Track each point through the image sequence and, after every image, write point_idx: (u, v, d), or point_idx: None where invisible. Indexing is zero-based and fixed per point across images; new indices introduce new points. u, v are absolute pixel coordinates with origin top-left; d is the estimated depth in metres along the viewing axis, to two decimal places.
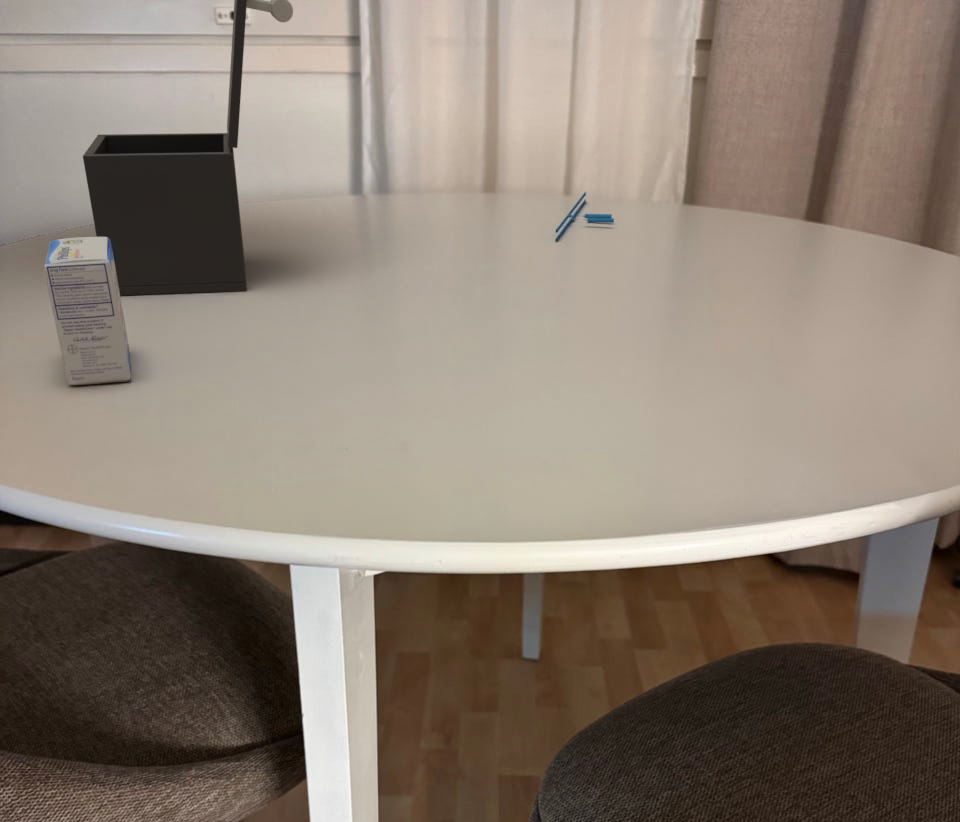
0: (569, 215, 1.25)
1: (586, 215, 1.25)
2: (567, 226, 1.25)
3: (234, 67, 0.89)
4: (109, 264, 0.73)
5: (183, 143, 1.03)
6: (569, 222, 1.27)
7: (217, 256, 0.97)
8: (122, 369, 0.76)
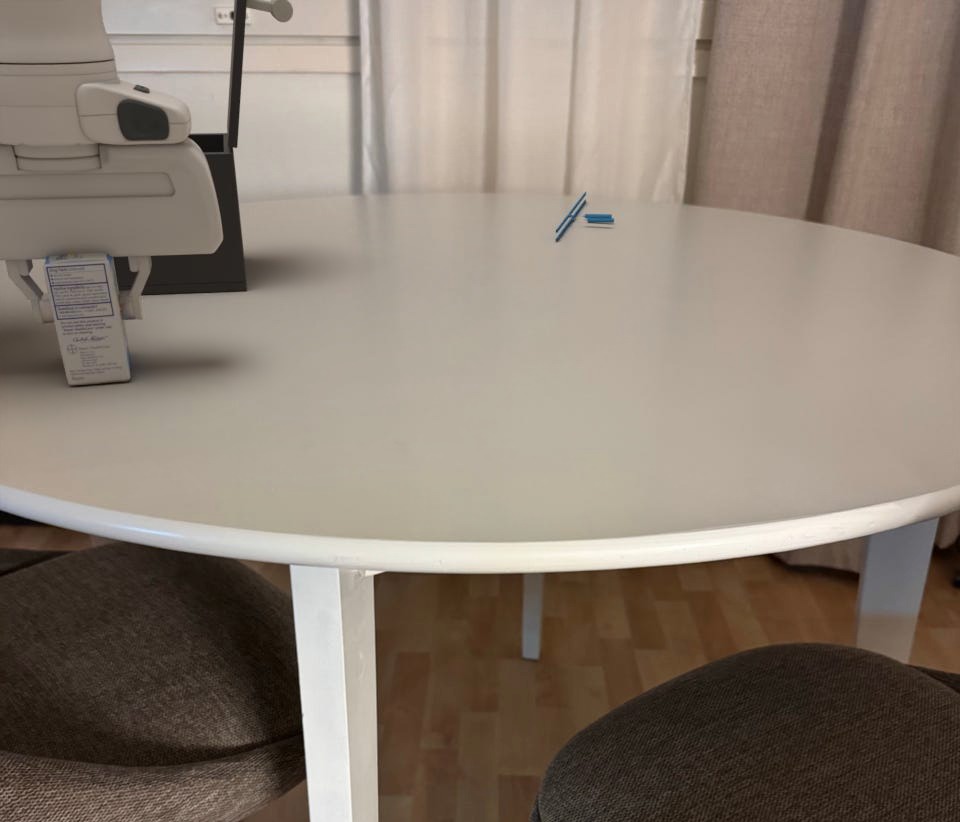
0: (569, 215, 1.25)
1: (586, 215, 1.25)
2: (567, 226, 1.25)
3: (234, 67, 0.89)
4: (108, 264, 0.73)
5: None
6: (569, 222, 1.27)
7: (217, 256, 0.97)
8: (121, 369, 0.76)
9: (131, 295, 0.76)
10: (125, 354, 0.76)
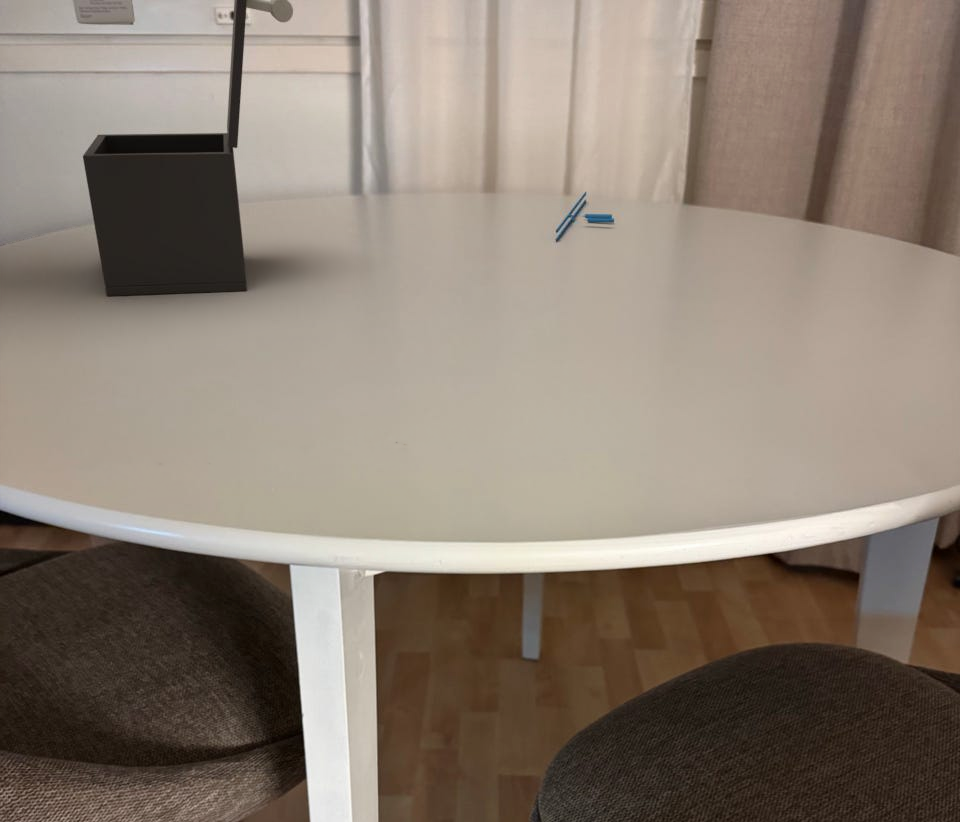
0: (569, 215, 1.25)
1: (586, 215, 1.25)
2: (567, 226, 1.25)
3: (234, 67, 0.89)
4: None
5: (183, 143, 1.03)
6: (569, 222, 1.27)
7: (217, 256, 0.97)
8: (126, 10, 0.83)
9: None
10: None
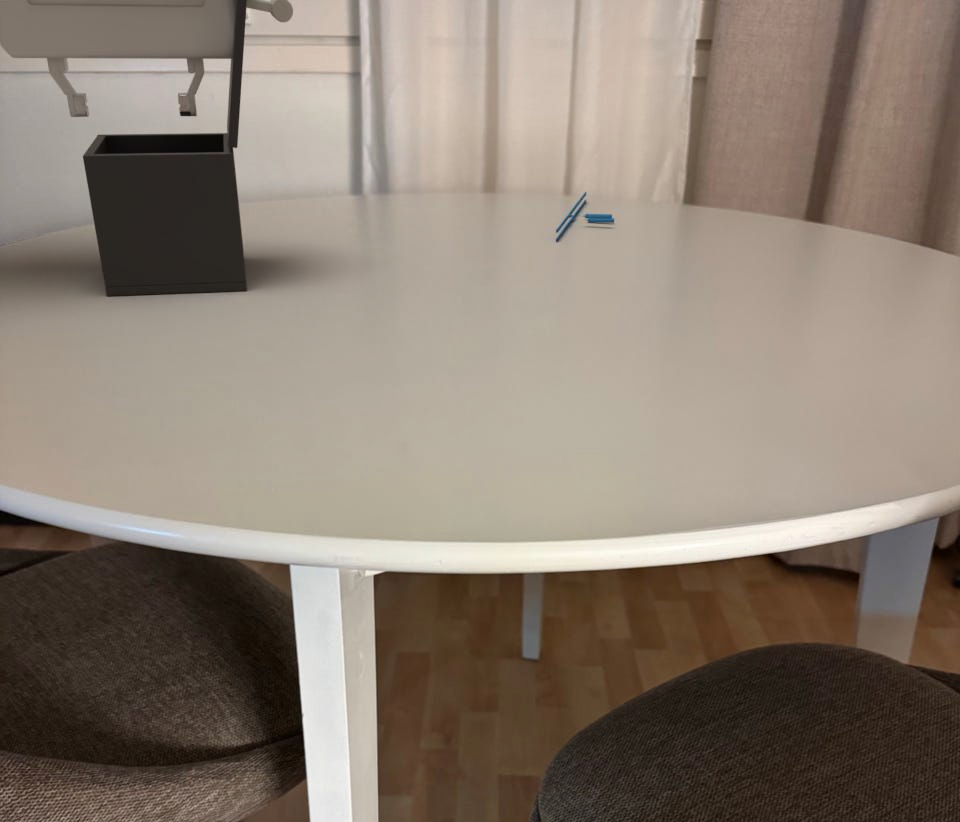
0: (569, 215, 1.25)
1: (586, 215, 1.25)
2: (567, 226, 1.25)
3: (234, 67, 0.89)
4: None
5: (183, 143, 1.03)
6: (569, 222, 1.27)
7: (217, 256, 0.97)
8: None
9: (188, 94, 0.95)
10: None
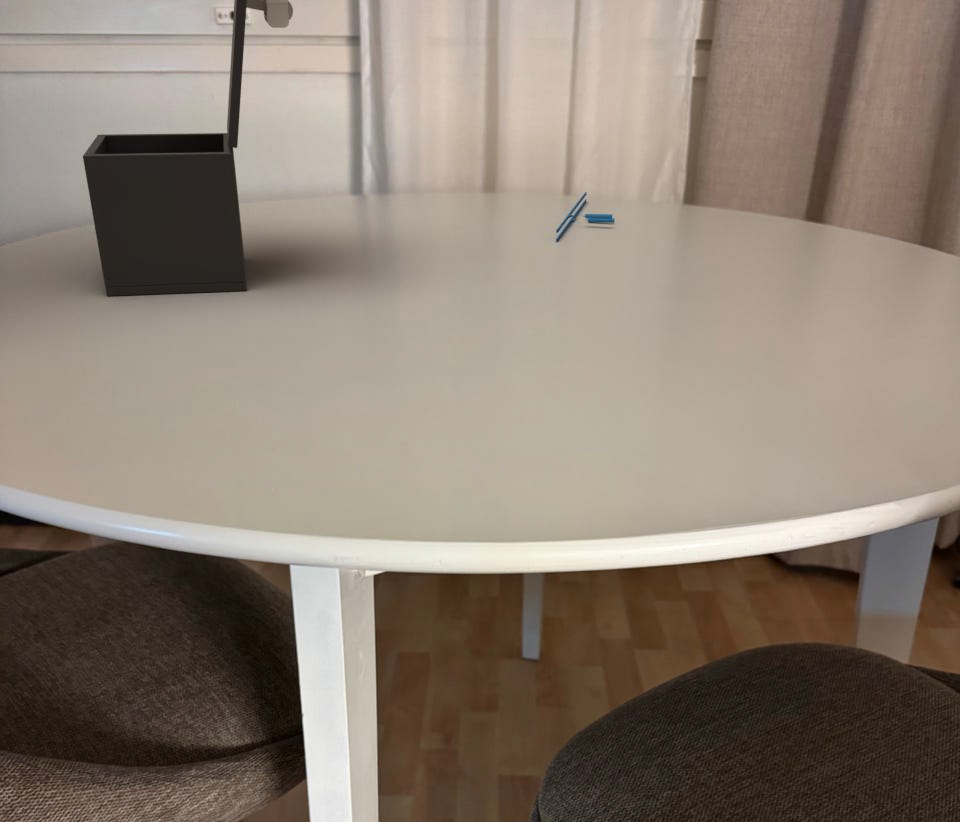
0: (570, 215, 1.25)
1: (587, 215, 1.25)
2: (568, 226, 1.25)
3: (234, 67, 0.89)
4: None
5: (183, 143, 1.03)
6: (570, 222, 1.27)
7: (217, 256, 0.97)
8: None
9: None
10: None
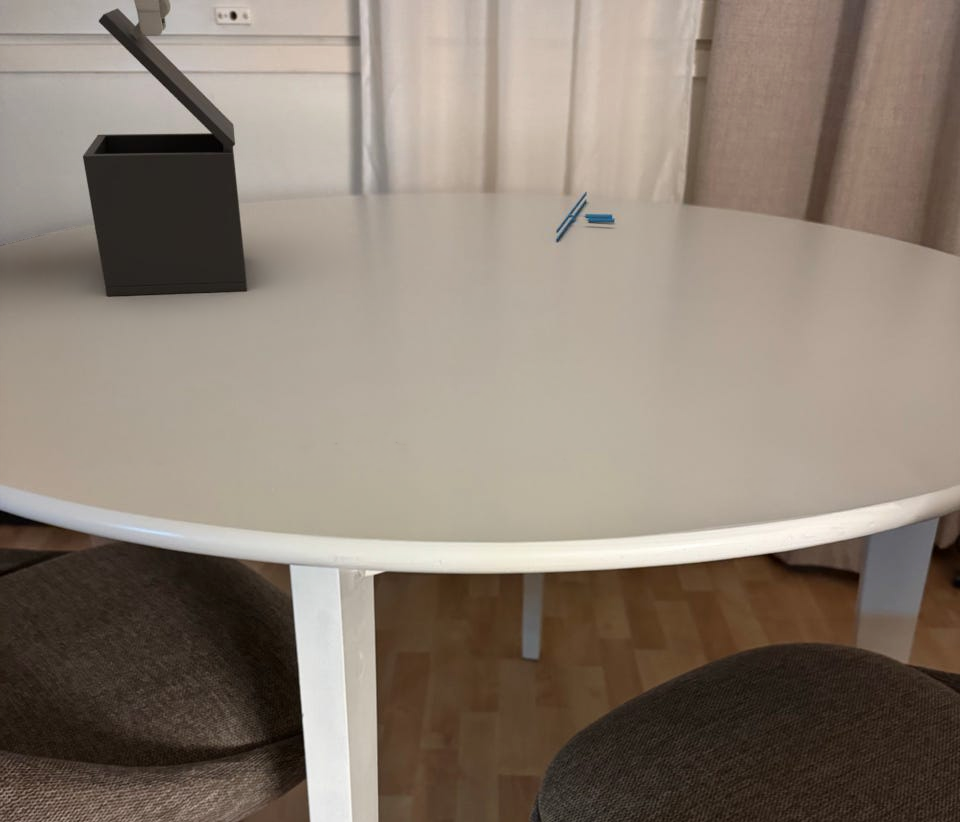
0: (570, 215, 1.25)
1: (587, 215, 1.25)
2: (568, 226, 1.25)
3: (172, 92, 0.89)
4: None
5: (183, 143, 1.03)
6: (570, 222, 1.27)
7: (217, 256, 0.97)
8: None
9: None
10: None
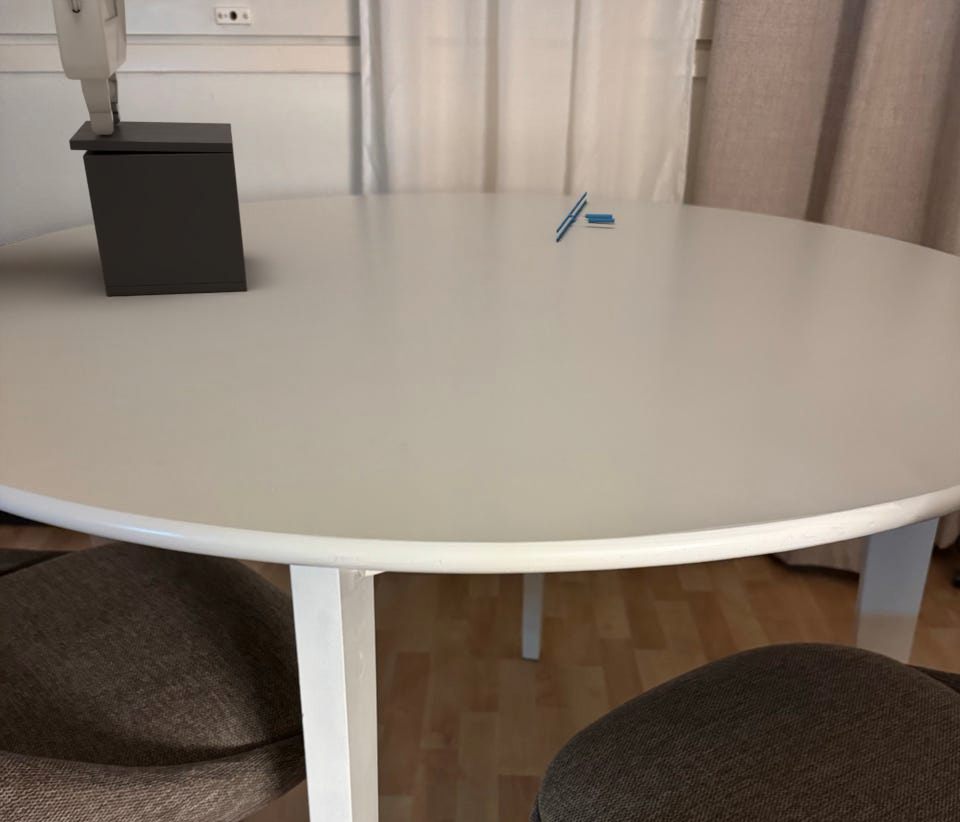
0: (570, 215, 1.25)
1: (587, 215, 1.25)
2: (568, 226, 1.25)
3: (159, 149, 0.91)
4: None
5: None
6: (570, 222, 1.27)
7: (217, 256, 0.97)
8: None
9: (117, 101, 0.98)
10: None
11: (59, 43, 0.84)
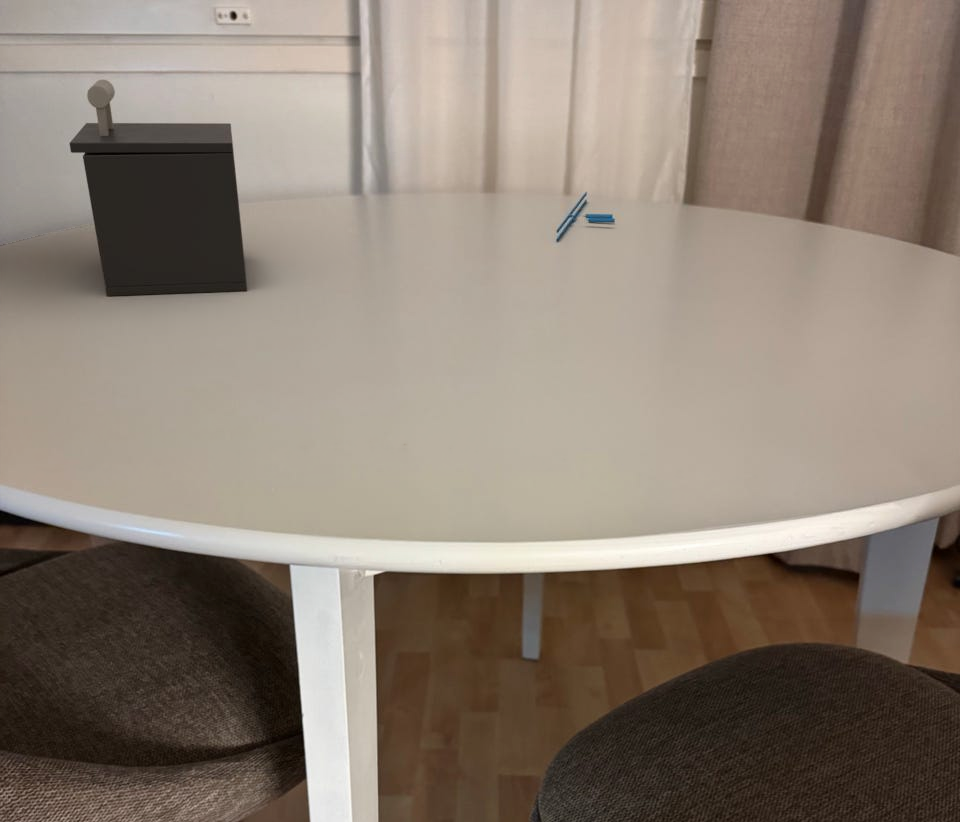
0: (570, 215, 1.25)
1: (587, 215, 1.25)
2: (568, 226, 1.25)
3: (159, 150, 0.92)
4: None
5: None
6: (570, 222, 1.27)
7: (217, 256, 0.97)
8: None
9: None
10: None
11: None
